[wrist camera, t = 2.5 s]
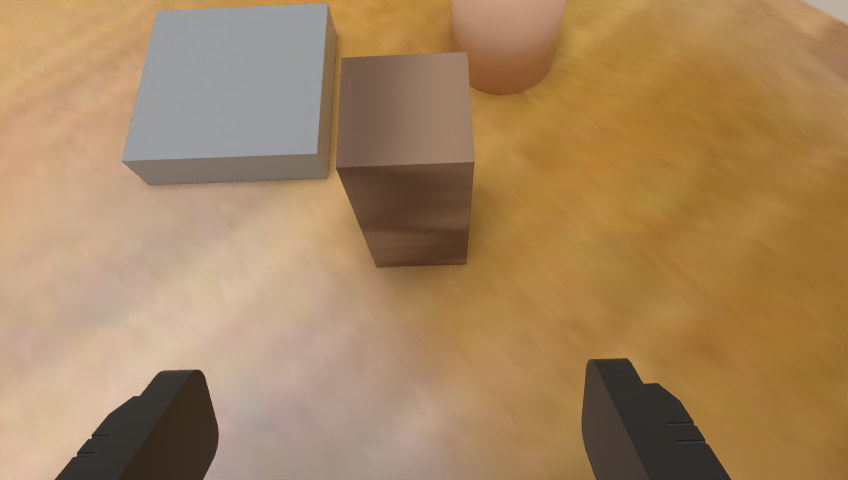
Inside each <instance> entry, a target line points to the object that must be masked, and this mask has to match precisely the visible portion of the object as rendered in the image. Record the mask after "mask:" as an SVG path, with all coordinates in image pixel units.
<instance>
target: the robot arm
mask: <svg viewBox="0 0 848 480" xmlns="http://www.w3.org/2000/svg"><path fill="white" fill-rule="evenodd" d="M582 434H583V440H584V445H585V449H586V452H587V455H588V458H589V461H590V464H591V466H592V469H593V472H594V475H595V478H596V480H731V478H730V477H729V475H728V474H727V472H726V471H725V469H724V468H723V466H722V465H721V463H720V462H719V460H718V458H717V457H716V455H715V454H714V452H713V451H712V449H711V448H710V446H709V445H708V444H706V443H705V438H704V437H703V435H702V434H701V432H700V431H699V429H698V428H697V426H694V422H693V420H692V419H691V417H690V415H689V414H688V412H687V411H686V409H685V408H684V406H683V405H682V403H681V402H680V400H678V399H677V398H676V397H674V396H673V395H672V394H671V393H669V392H668V391H667V390H666V389H664V388H663V387H662V386H661V385H659V384H658V383H652V384H643V382H642V381H641V379H640V377H639V375H638V374H637V372H636V370H635V369H634V367H633V365H632V363H631V362H630V361H629V360H628V359H627V358H622V359H590V360H589V361H588V363H587V367H586V377H585V388H584V399H583V410H582ZM218 437H219V432H218V425H217V421H216V417H215V413H214V409H213V406H212V402H211V398H210V394H209V390H208V386H207V383H206V379H205V376H204V374H203V373H202V371H200V370H168V371H161V372H159V373H158V374H157V375H156V376H155V377H154V379H153V380H152V381H151V383H150V384H149V385H148V386H147V388H146V389H145V390H144V391H143V393H142V394H141V395H140V396H133V397H132V398H131V399H129V400H128V401H126V402H125V403H124V404H122V405H121V406H120V407H118V408H117V409H116V410H114V411H113V412H111V413H110V414H109V415H108V416H107V417H106V418H105V420H104V421H103V422H102V423H101V424H100V426H99V427H98V428H97V429H96V431H95V432H94V433H93V434H92V438H91V439H88V440H87V441H86V443H85V444H84V445H83V446H82V447H81V449H80V450H79V451H78V452H77V457H73V458H72V459H71V461H70V462H69V463H68V464H67V465H66V467H65V468H64V469H63V470H62V472H61V473H60V474H59V475H58V476H57V478H56V479H55V480H203V479H204V477H205V475H206V473H207V471H208V469H209V467H210V465H211V463H212V461H213V459H214V456H215V454H216V450H217V446H218Z"/></svg>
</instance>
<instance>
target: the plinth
mask: <svg viewBox="0 0 848 480" xmlns="http://www.w3.org/2000/svg"><path fill="white" fill-rule="evenodd" d="M336 41H337V35H336V31H335V28H334V24H333V20H332V17H331V13H330V9H329V6H328V3H318V4H297V5H277V6H256V7H236V8H215V9H195V10H174V11H157V13H156V17H155V22H154V26H153V30H152V34H151V38H150V43H149V47H148V51H147V55H146V60H145V64H144V68H143V72H142V77H141V81H140V85H139V89H138V94H137V98H136V102H135V106H134V111H133V115H132V119H131V123H130V127H129V132H128V136H127V140H126V144H125V149H124V153H123V157H122V162H123V163H124V164H126V165H127V166H128V167H129V168H130V169H131V170H132V171H134V172H135V173H136V174H137V175H138V176H139V177H140V178H142V179H143V180H144V181H145V182H146V183H147V184H148V185H163V184H190V183H216V182H243V181H270V180H297V179H324V178H328V170H329V154H330V138H331V122H332V106H333V89H334V73H335V57H336Z"/></svg>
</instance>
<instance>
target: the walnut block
mask: <svg viewBox="0 0 848 480" xmlns="http://www.w3.org/2000/svg"><path fill="white" fill-rule="evenodd" d="M336 169H337V171H338V174H339V176H340V179H341V181H342V184H343V186H344V188H345V191H346V193H347V196H348V198H349V201H350V203H351V206H352V208H353V210H354V213H355V215H356V218H357V220H358V223H359V225H360V228H361V230H362V232H363V235H364V237H365V240H366V242H367V245H368V247H369V250H370V252H371V254H372V257H373V259H374V262H375V264H376V267H399V266H429V265H460V264H466V256H467V244H468V232H469V220H470V208H471V196H472V184H473V173H474V148H473V132H472V117H471V101H470V85H469V69H468V54H467V52H453V53H432V54H412V55H391V56H371V57H350V58H342V61H341V81H340V100H339V119H338V138H337V157H336Z"/></svg>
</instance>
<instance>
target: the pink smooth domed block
mask: <svg viewBox="0 0 848 480" xmlns="http://www.w3.org/2000/svg"><path fill="white" fill-rule="evenodd" d="M566 4H567V0H451V53H453V52H467V54H468V69H469V85H470V86H471V87H473V88H475V89H477V90H479V91H482V92H485V93H489V94H496V95H508V94H514V93H519V92H522V91H525V90H527V89H529V88H531V87H533V86H534V85H536V84H537V83H538V82H539V81H541V80H542V78H543V77H544V76H545V75H546V73H547V72H548V70H549V67H550V64H551V61H552V57H553V53H554V49H555V46H556V42H557V38H558V34H559V30H560V27H561V23H562V19H563V15H564V11H565V8H566Z"/></svg>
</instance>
